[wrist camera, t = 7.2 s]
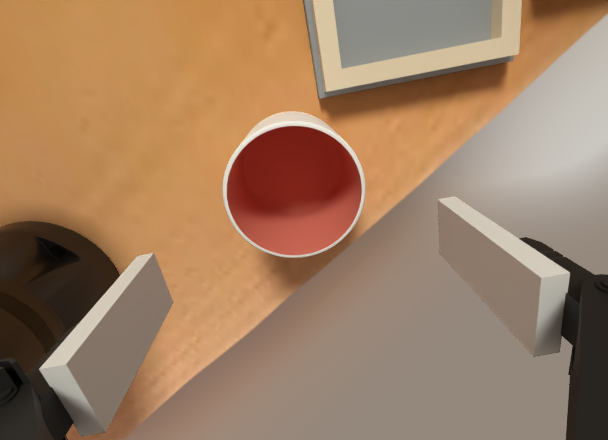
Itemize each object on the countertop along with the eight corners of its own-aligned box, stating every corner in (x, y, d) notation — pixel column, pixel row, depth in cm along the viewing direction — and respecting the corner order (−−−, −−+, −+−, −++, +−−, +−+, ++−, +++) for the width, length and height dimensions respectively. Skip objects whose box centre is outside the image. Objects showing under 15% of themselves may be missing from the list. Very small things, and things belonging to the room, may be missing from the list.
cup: (341, 105, 31) (365, 114, 22) (345, 207, 35) (366, 252, 26) (232, 115, 31) (210, 128, 22) (248, 216, 35) (234, 264, 25)
